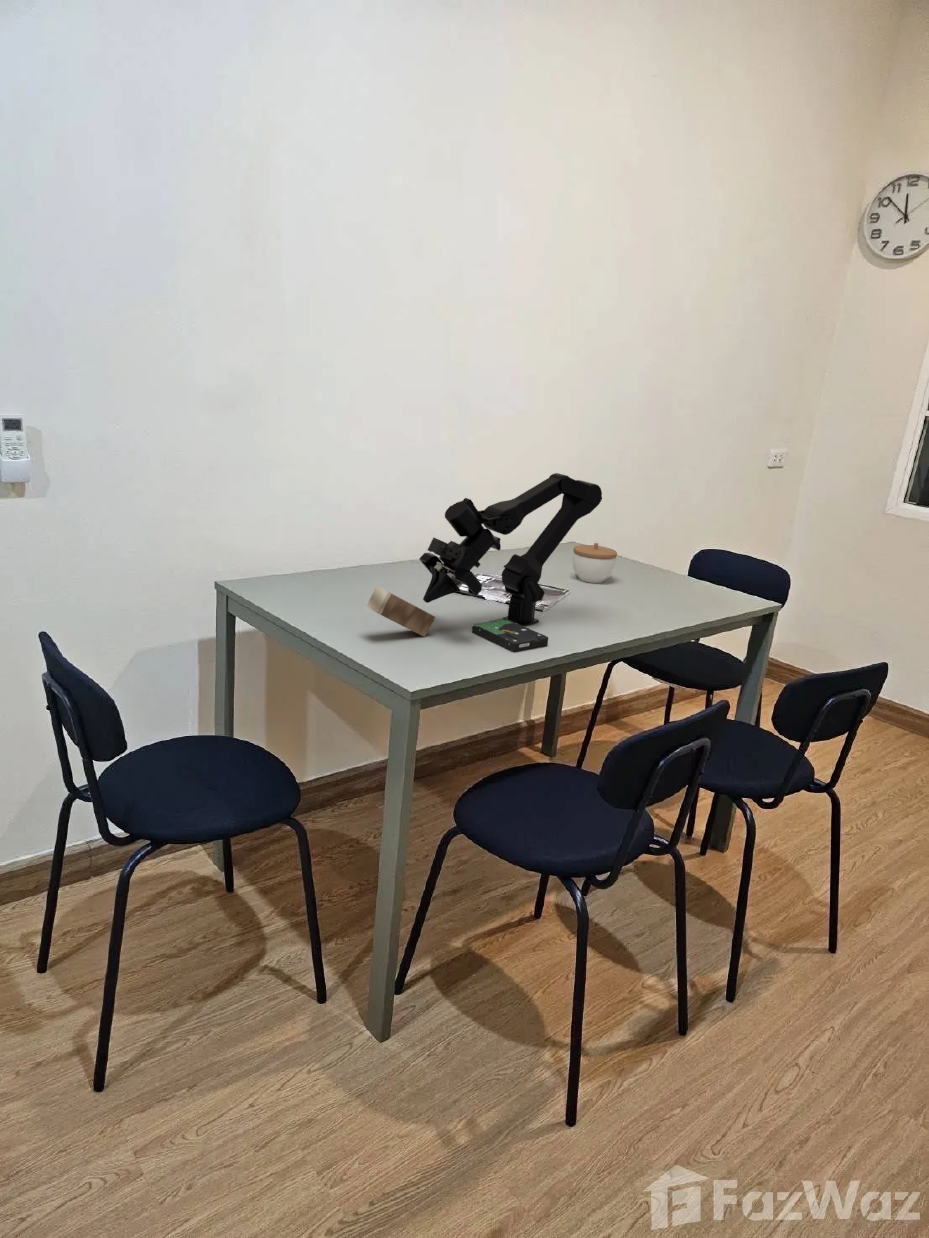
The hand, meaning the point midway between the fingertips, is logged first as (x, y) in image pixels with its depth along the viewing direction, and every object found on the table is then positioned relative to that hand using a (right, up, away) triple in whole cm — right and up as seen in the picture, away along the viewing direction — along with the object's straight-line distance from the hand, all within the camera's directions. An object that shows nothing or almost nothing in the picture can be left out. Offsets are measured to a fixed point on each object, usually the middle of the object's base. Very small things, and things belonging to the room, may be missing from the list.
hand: (424, 601), depth 188 cm
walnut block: (0, -5, +2) cm, 5 cm away
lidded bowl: (+46, +7, +63) cm, 78 cm away
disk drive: (+19, -9, +4) cm, 21 cm away
